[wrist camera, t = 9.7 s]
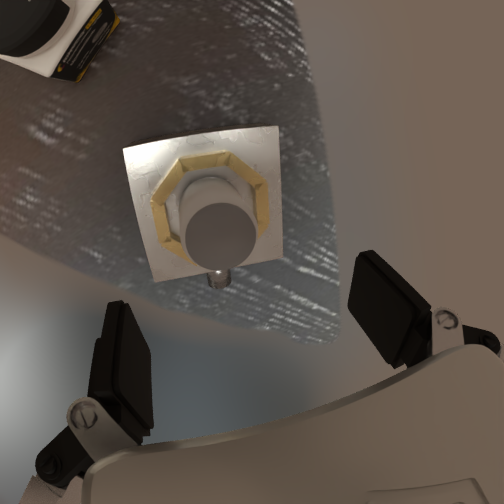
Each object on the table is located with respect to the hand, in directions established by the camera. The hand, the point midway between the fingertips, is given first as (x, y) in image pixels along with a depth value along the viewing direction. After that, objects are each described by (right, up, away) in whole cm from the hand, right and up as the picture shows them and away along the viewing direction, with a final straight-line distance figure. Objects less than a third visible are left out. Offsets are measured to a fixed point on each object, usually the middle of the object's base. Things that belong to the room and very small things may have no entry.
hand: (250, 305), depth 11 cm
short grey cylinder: (-3, +6, +11) cm, 13 cm away
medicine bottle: (-16, +22, +5) cm, 28 cm away
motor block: (-4, +7, +16) cm, 18 cm away
